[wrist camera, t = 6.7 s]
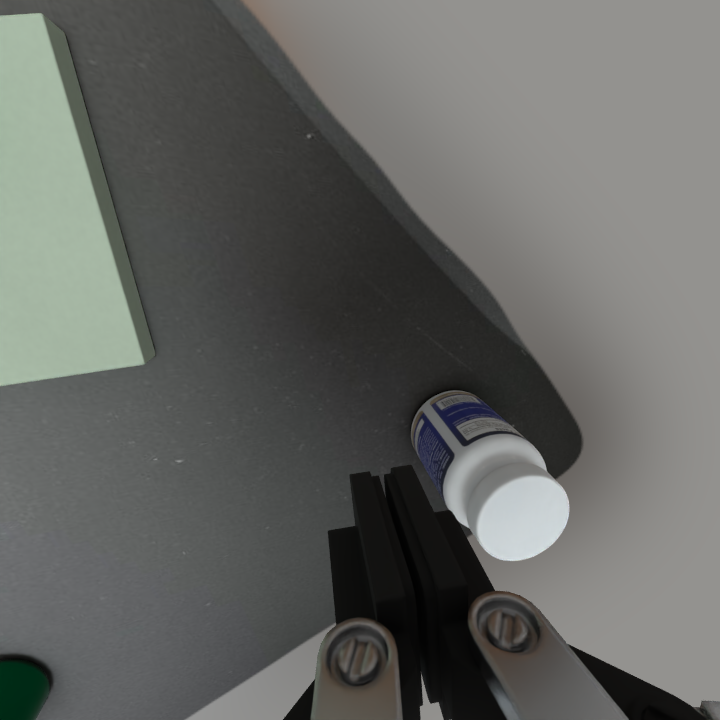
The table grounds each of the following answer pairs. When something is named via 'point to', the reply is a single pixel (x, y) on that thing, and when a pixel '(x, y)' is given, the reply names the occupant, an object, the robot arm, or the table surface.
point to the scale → (57, 222)
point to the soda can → (22, 689)
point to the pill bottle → (489, 476)
